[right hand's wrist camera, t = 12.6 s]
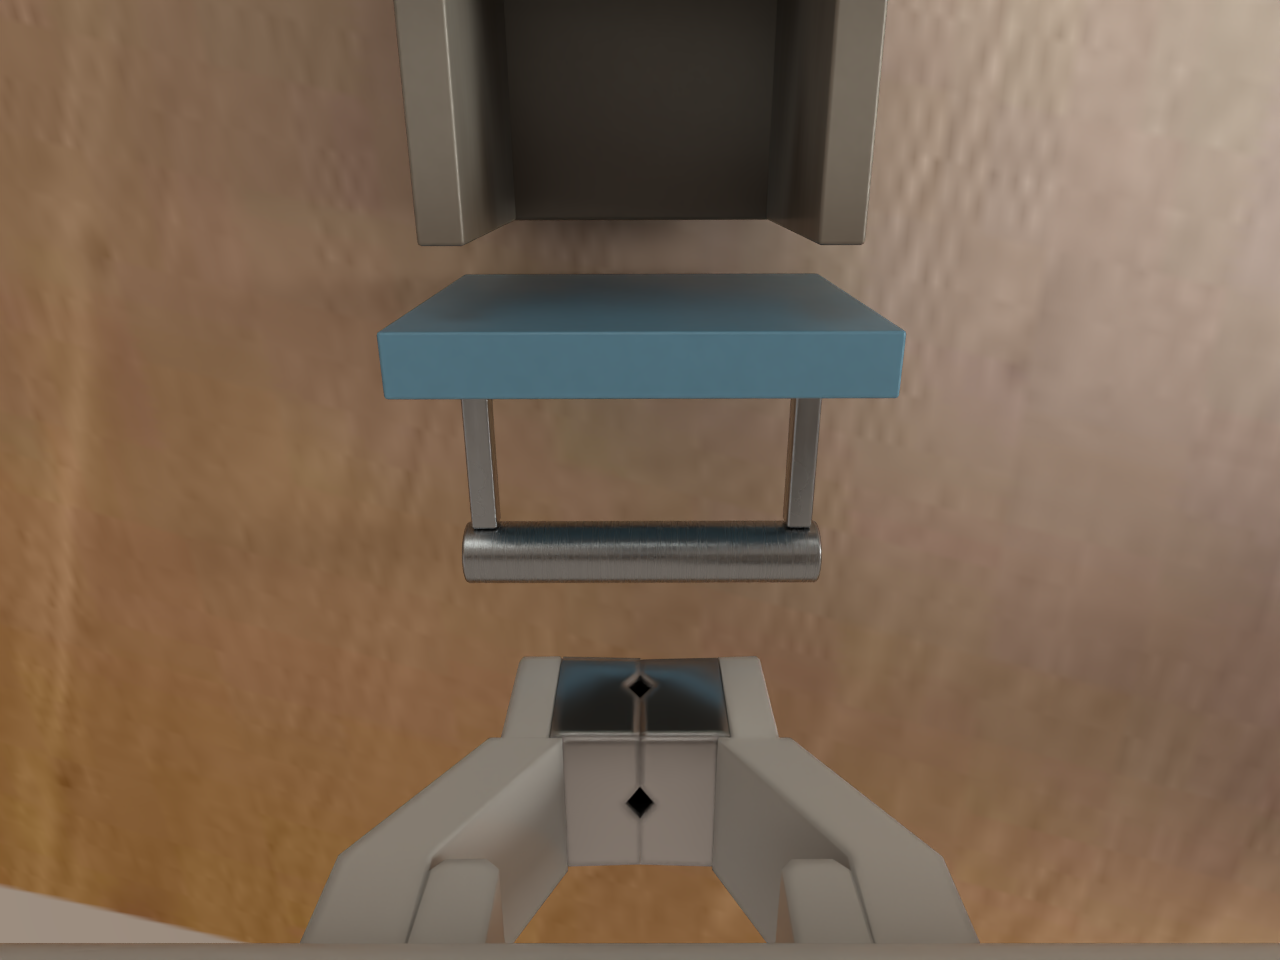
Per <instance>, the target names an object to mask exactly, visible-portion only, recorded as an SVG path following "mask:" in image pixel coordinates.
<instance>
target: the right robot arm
mask: <svg viewBox="0 0 1280 960" xmlns="http://www.w3.org/2000/svg"><path fill="white" fill-rule="evenodd" d="M634 864H644V865H679V866H712V870H713V871H714V873H715V874H716V875H717V877H718V878H719V879H720V881H721V882H722V883H723V885H724V886H725V887H726V889H727V890H728V891H729V893H730V894H731V896H732V897H733V898H734V900H735V901H736V902H737V904H738V905H739V906H740V908H741V909H742V910H743V912H744V913H745V914H746V916H747V917H748V918H749V920H750V921H751V922H752V924H753V925H754V926H755V928H756V929H757V930H758V932H759V933H760V934H761V936H762V937H763V938H764V940H765V941H766V942H767V943H514V941H515V940H516V939H517V937H518V936H519V935H520V934H521V932H522V931H523V930H524V928H525V927H526V926H527V924H528V923H529V922H530V920H531V919H532V918H533V916H534V915H535V914H536V912H537V911H538V910H539V908H540V907H541V906H542V904H543V903H544V902H545V900H546V899H547V898H548V896H549V895H550V894H551V892H552V891H553V890H554V888H555V887H556V886H557V884H558V883H559V882H560V880H561V879H562V878H563V876H564V875H565V874H566V872H567V871H568V866H600V865H634ZM0 960H1280V943H980V942H979V939H978V937H977V935H976V933H975V930H974V928H973V926H972V923H971V921H970V919H969V916H968V914H967V912H966V909H965V907H964V905H963V903H962V900H961V898H960V896H959V893H958V891H957V889H956V886H955V884H954V882H953V879H952V877H951V875H950V873H949V870H948V868H947V866H946V863H945V861H944V859H943V857H942V856H941V855H940V854H938V853H937V852H936V851H935V850H933V849H932V848H931V847H930V846H928V845H927V844H926V843H924V842H923V841H922V840H921V839H919V838H918V837H917V836H915V835H914V834H913V833H912V832H910V831H909V830H908V829H907V828H905V827H904V826H903V825H901V824H900V823H899V822H898V821H896V820H895V819H894V818H892V817H891V816H890V815H889V814H887V813H886V812H885V811H884V810H882V809H881V808H880V807H878V806H877V805H876V804H875V803H873V802H872V801H871V800H869V799H868V798H867V797H866V796H864V795H863V794H862V793H861V792H859V791H858V790H857V789H855V788H854V787H853V786H852V785H850V784H849V783H848V782H846V781H845V780H844V779H843V778H841V777H840V776H839V775H838V774H836V773H835V772H834V771H832V770H831V769H830V768H829V767H827V766H826V765H825V764H823V763H822V762H821V761H820V760H818V759H817V758H816V757H815V756H813V755H812V754H811V753H809V752H808V751H807V750H806V749H804V748H803V747H802V746H800V745H799V744H798V743H797V742H795V741H794V740H793V739H792V738H779V736H778V732H777V727H776V723H775V719H774V715H773V711H772V707H771V703H770V699H769V695H768V691H767V687H766V683H765V679H764V674H763V670H762V666H761V662H760V659H759V658H757V657H756V656H741V657H718V658H687V659H640V658H601V657H563V659H562V658H561V657H560V656H548V657H523V658H522V660H521V661H520V662H519V665H518V670H517V674H516V678H515V682H514V686H513V690H512V694H511V698H510V703H509V707H508V711H507V715H506V719H505V723H504V727H503V731H502V736H501V738H489V739H487V740H486V741H485V742H483V743H482V744H481V745H480V746H478V747H477V748H476V749H474V750H473V751H472V752H471V753H469V754H468V755H467V756H465V757H464V758H463V759H462V760H460V761H459V762H458V763H456V764H455V765H454V766H453V767H451V768H450V769H449V770H447V771H446V772H445V773H444V774H442V775H441V776H440V777H438V778H437V779H436V780H435V781H433V782H432V783H431V784H429V785H428V786H427V787H426V788H424V789H423V790H422V791H420V792H419V793H418V794H417V795H415V796H414V797H413V798H412V799H410V800H409V801H408V802H406V803H405V804H404V805H403V806H401V807H400V808H399V809H397V810H396V811H395V812H394V813H392V814H391V815H390V816H388V817H387V818H386V819H385V820H383V821H382V822H381V823H379V824H378V825H377V826H376V827H374V828H373V829H372V830H370V831H369V832H368V833H367V834H365V835H364V836H363V837H361V838H360V839H359V840H358V841H356V842H355V843H354V844H352V845H351V846H350V847H349V848H347V849H346V850H345V851H343V852H342V853H341V854H340V855H338V857H337V860H336V862H335V864H334V867H333V869H332V871H331V873H330V876H329V878H328V880H327V883H326V885H325V887H324V889H323V892H322V894H321V896H320V898H319V901H318V903H317V905H316V908H315V910H314V912H313V914H312V917H311V919H310V921H309V923H308V926H307V928H306V930H305V933H304V935H303V937H302V939H301V942H300V943H0Z"/></svg>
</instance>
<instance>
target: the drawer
mask: <svg viewBox="0 0 1280 960" xmlns="http://www.w3.org/2000/svg"><path fill="white" fill-rule="evenodd" d="M393 2H394V12H395V22H396V32H397V42H398V52H399V62H400V72H401V82H402V92H403V103H404V113H405V123H406V133H407V143H408V153H409V163H410V173H411V183H412V193H413V203H414V213H415V223H416V233H417V242H418V244H419V245H420V246H462V245H465V244H467V243H469V242H471V241H473V240H475V239H477V238H479V237H481V236H483V235H485V234H487V233H489V232H491V231H493V230H495V229H497V228H499V227H501V226H503V225H505V224H507V223H510V222H512V221H514V220H752V219H768V220H770V221H772V222H774V223H776V224H778V225H780V226H782V227H785V228H787V229H789V230H791V231H793V232H795V233H797V234H799V235H801V236H803V237H805V238H807V239H809V240H811V241H814V242H816V243H818V244H820V245H861V244H864V242H865V236H866V225H867V215H868V204H869V194H870V183H871V172H872V162H873V151H874V141H875V130H876V120H877V109H878V99H879V88H880V78H881V67H882V57H883V46H884V36H885V25H886V15H887V4H888V0H393ZM905 339H906V332H905V331H904V330H902V329H901V328H899V327H898V326H896V325H895V324H893V323H892V322H890V321H889V320H887V319H886V318H884V317H883V316H881V315H880V314H878V313H876V312H875V311H873V310H872V309H870V308H869V307H867V306H866V305H864V304H863V303H861V302H860V301H858V300H857V299H855V298H854V297H852V296H851V295H849V294H847V293H846V292H844V291H843V290H841V289H840V288H838V287H837V286H835V285H834V284H832V283H831V282H829V281H828V280H826V279H825V278H823V277H822V276H820V275H818V274H487V275H464V276H462V277H461V278H459V279H458V280H456V281H455V282H453V283H452V284H450V285H449V286H447V287H446V288H444V289H443V290H441V291H440V292H438V293H437V294H435V295H434V296H432V297H431V298H429V299H428V300H426V301H425V302H423V303H422V304H420V305H419V306H417V307H416V308H414V309H413V310H411V311H410V312H408V313H407V314H405V315H404V316H402V317H401V318H399V319H398V320H396V321H395V322H393V323H391V324H390V325H388V326H387V327H385V328H384V329H382V330H381V331H379V332H378V333H377V341H378V349H379V358H380V366H381V374H382V382H383V390H384V397H385V398H386V399H461V406H462V417H463V429H464V440H465V452H466V464H467V475H468V487H469V498H470V510H471V522H469V523H467V525H466V528H465V531H464V535H463V543H462V565H463V572H464V576H465V579H466V581H467V582H469V583H680V582H815V581H817V580H818V578H819V575H820V570H821V560H822V548H821V537H820V532H819V528H818V526H817V523H816V522H814V521H812V513H813V501H814V489H815V476H816V464H817V452H818V440H819V428H820V415H821V403H822V398H897V397H898V396H899V390H900V382H901V373H902V365H903V356H904V348H905ZM741 398H791V405H790V420H789V435H788V450H787V464H786V479H785V494H784V509H783V518H784V521H500V518H501V516H500V502H499V488H498V474H497V460H496V446H495V433H494V419H493V405H492V399H741Z"/></svg>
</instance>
